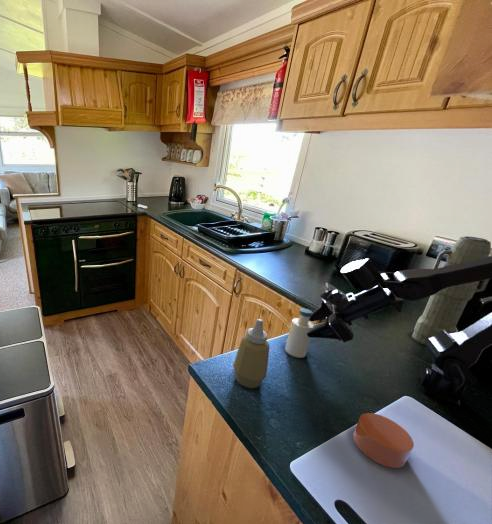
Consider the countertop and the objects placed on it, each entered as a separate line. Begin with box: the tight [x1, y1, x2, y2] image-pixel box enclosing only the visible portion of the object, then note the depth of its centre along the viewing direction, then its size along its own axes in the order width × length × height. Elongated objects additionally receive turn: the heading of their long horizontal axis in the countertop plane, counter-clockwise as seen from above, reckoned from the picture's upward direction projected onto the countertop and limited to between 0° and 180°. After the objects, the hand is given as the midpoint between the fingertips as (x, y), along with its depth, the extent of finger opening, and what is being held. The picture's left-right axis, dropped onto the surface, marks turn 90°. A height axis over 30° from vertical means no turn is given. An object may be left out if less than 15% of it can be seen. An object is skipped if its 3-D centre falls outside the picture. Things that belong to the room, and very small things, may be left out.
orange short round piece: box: [352, 412, 415, 469], centre depth 57 cm, size 8×8×4 cm
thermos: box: [411, 235, 492, 346], centre depth 89 cm, size 9×12×35 cm
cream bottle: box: [284, 307, 315, 359], centre depth 84 cm, size 6×6×14 cm
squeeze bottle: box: [232, 318, 270, 389], centre depth 71 cm, size 8×8×18 cm
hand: (306, 327), depth 83 cm, fingers open, 9 cm apart
